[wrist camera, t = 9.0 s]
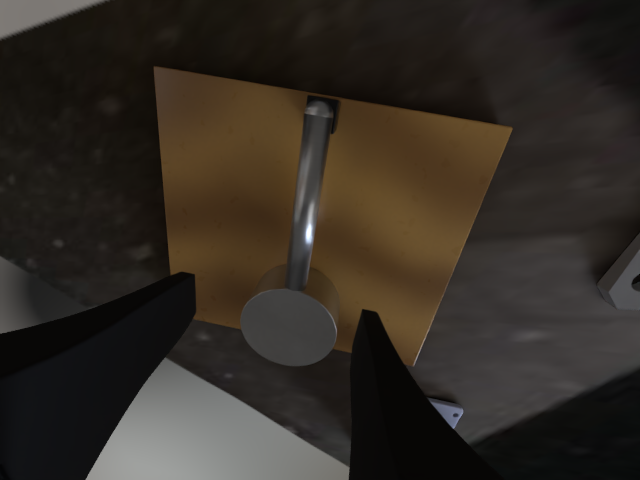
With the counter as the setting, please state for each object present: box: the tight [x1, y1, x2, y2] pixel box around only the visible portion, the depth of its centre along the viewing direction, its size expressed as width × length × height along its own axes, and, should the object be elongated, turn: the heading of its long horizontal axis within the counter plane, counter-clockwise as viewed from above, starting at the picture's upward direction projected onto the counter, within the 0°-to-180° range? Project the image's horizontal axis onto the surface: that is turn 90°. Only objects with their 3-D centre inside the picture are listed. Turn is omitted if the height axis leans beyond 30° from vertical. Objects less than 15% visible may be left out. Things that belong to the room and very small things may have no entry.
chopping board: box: [154, 66, 513, 366], centre depth 20 cm, size 18×20×2 cm
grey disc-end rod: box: [240, 95, 341, 366], centre depth 18 cm, size 17×6×3 cm, turn 171°
